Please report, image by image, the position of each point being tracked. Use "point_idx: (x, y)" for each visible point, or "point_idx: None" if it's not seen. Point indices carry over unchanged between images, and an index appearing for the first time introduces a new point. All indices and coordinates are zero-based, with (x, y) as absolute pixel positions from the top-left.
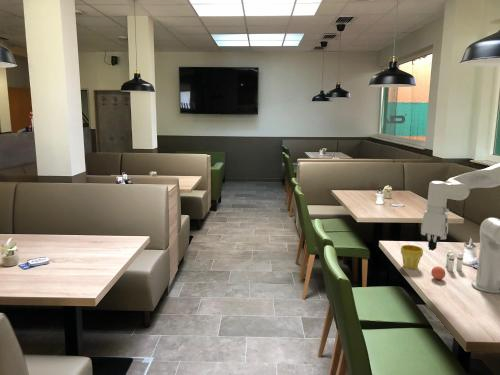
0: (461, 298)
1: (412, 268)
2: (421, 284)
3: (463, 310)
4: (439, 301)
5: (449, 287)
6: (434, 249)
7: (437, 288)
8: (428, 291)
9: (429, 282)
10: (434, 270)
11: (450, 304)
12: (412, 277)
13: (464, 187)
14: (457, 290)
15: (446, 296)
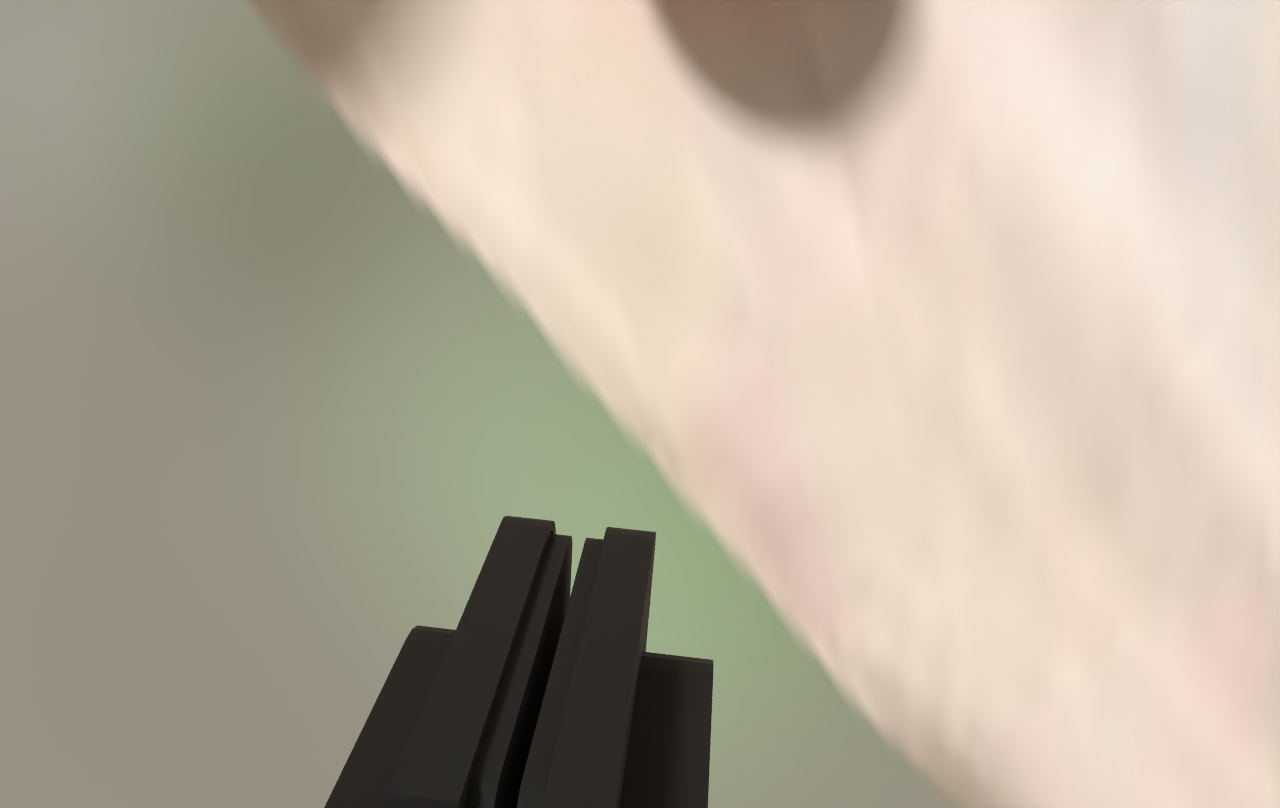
0: (1234, 425)
1: None
2: (585, 305)
3: (1272, 748)
4: (965, 686)
5: (1004, 104)
6: (650, 584)
7: (838, 293)
8: (759, 488)
9: (654, 124)
10: None
11: (1105, 688)
12: (345, 104)
13: None
14: (1151, 144)
15: (1020, 493)
